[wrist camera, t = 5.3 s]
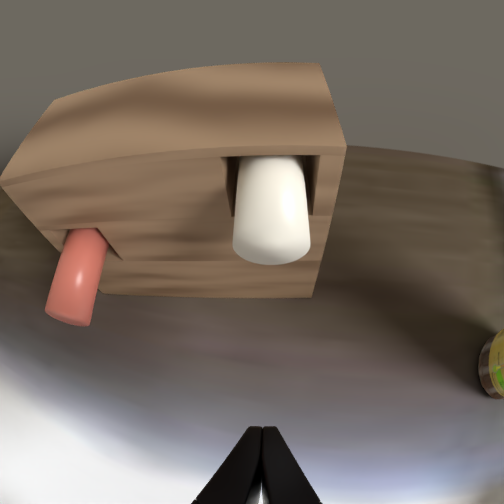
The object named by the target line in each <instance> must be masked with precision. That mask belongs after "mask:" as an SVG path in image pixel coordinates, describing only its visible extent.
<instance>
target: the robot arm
mask: <svg viewBox="0 0 504 504" xmlns="http://www.w3.org/2000/svg"><path fill="white" fill-rule="evenodd" d="M261 483H262V497H263V504H322V502H320V499H319V498H318V496H317V494H316V493H315V491H314V490H313V488H312V486H311V485H310V483H309V481H308V480H307V478H306V477H305V475H304V473H303V472H302V470H301V468H300V467H299V465H298V463H297V461H296V460H295V458H294V456H293V455H292V453H291V451H290V449H289V448H288V446H287V444H286V443H285V441H284V439H283V437H282V435H281V434H280V432H279V430H278V428H277V427H275V426H265V427H263V429H262V427H260V426H250V427H248V428H247V430H246V431H245V433H244V434H243V436H242V437H241V438H240V440H239V441H238V443H237V444H236V446H235V447H234V448H233V450H232V451H231V452H230V454H229V455H228V457H227V458H226V459H225V461H224V462H223V463H222V465H221V466H220V467H219V469H218V470H217V471H216V473H215V474H214V475H213V477H212V478H211V479H210V481H209V482H208V483H207V484H206V486H205V487H204V488H203V490H202V491H201V492H200V493H199V495H198V496H197V497H196V500H194V501H193V502H192V503H191V504H258V503H259V498H260V492H261Z"/></svg>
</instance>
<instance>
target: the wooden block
mask: <svg viewBox="0 0 504 504" xmlns="http://www.w3.org/2000/svg"><path fill="white" fill-rule="evenodd" d="M346 148H347V146H346V143H345V139H344V136H343V132H342V129H341V126H340V122H339V119H338V116H337V113H336V110H335V107H334V103H333V100H332V97H331V94H330V92H329V89H328V86H327V83H326V80H325V77H324V75H323V72H322V69H321V66H320V64H319V63H293V62H291V63H289V62H284V63H283V62H277V63H247V64H229V65H217V66H207V67H199V68H190V69H183V70H176V71H169V72H164V73H157V74H152V75H147V76H141V77H137V78H132V79H127V80H123V81H119V82H115V83H110V84H106V85H102V86H99V87H95V88H91V89H88V90H84V91H81V92H77V93H74V94H71V95H68V96H65V97H62V98H59V99H56V100H54V101H53V103H52V104H51V105H50V106H49V107H48V109H47V110H46V111H45V112H44V114H43V115H42V116H41V118H40V119H39V120H38V121H37V123H36V124H35V125H34V127H33V128H32V129H31V131H30V132H29V134H28V135H27V136H26V138H25V139H24V141H23V142H22V144H21V145H20V147H19V148H18V150H17V151H16V153H15V154H14V156H13V157H12V159H11V160H10V162H9V163H8V165H7V167H6V168H5V170H4V172H3V174H2V175H1V177H0V186H1V187H2V188H3V189H4V191H5V192H6V193H7V194H8V195H9V197H10V198H11V199H12V200H13V201H14V203H15V204H16V205H17V206H18V207H19V209H20V210H21V211H22V212H23V213H24V214H25V215H26V217H27V218H28V219H29V220H30V221H31V222H32V223H33V224H34V225H35V227H36V228H37V229H38V230H39V231H40V232H41V233H42V234H43V235H44V236H45V237H46V238H47V239H48V241H49V242H50V243H51V244H52V245H53V246H54V247H55V248H56V249H57V250H58V251H59V252H60V253H62V250H63V247H64V244H65V241H66V239H67V236H68V233H69V230H70V229H78V228H96V227H97V228H98V229H99V230H100V232H101V233H102V234H103V236H104V237H105V238H106V239H107V241H108V242H109V243H110V244H109V247H108V251H107V254H106V258H105V262H104V265H103V269H102V273H101V277H100V281H99V285H98V289H99V290H100V291H101V292H102V293H103V294H119V295H140V296H165V297H202V298H311V297H312V294H313V290H314V286H315V283H316V279H317V275H318V271H319V268H320V264H321V260H322V256H323V252H324V248H325V244H326V240H327V236H328V232H329V227H330V223H331V219H332V214H333V210H334V206H335V201H336V197H337V192H338V187H339V183H340V178H341V173H342V168H343V163H344V158H345V153H346ZM252 155H302V163H303V172H304V181H305V190H306V200H307V210H308V221H309V232H310V249H309V251H308V252H307V253H306V254H305V255H304V256H303V257H301V258H300V259H298V260H296V261H293V262H290V263H286V264H279V265H263V264H257V263H253V262H250V261H247V260H245V259H243V258H242V257H240V256H239V255H238V254H237V253H236V252H235V251H234V249H233V230H234V217H235V205H236V193H237V181H238V169H239V158H240V156H252Z"/></svg>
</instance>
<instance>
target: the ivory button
mask: <svg viewBox="0 0 504 504" xmlns="http://www.w3.org/2000/svg"><path fill="white" fill-rule="evenodd" d="M233 249H234V251H235V252H236V253H237V254H238V255H239V256H240V257H242V258H243V259H245V260H247V261H250V262H253V263H257V264H263V265H279V264H286V263H290V262H293V261H296V260H298V259H300V258H301V257H303V256H304V255H305V254H306V253H307V252H308V251H309V249H310V232H309V221H308V210H307V200H306V190H305V181H304V172H303V163H302V155H252V156H240V158H239V169H238V181H237V193H236V205H235V217H234V230H233Z"/></svg>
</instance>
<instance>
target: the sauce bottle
mask: <svg viewBox="0 0 504 504" xmlns="http://www.w3.org/2000/svg"><path fill="white" fill-rule="evenodd" d="M478 371H479V376H480V381H481V384H482V386H483V388H484V389H485V390H486V392H487V393H488V394H489V395H490V396H491V397H492V398H494V399H504V329H502V330H501V331H500V332H499V333H498V334H497V335H495V336H493V337H491V338H490V339H488V340H487V342H486V343H485V345H484V347H483V349H482V351H481V353H480V356H479V365H478Z"/></svg>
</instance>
